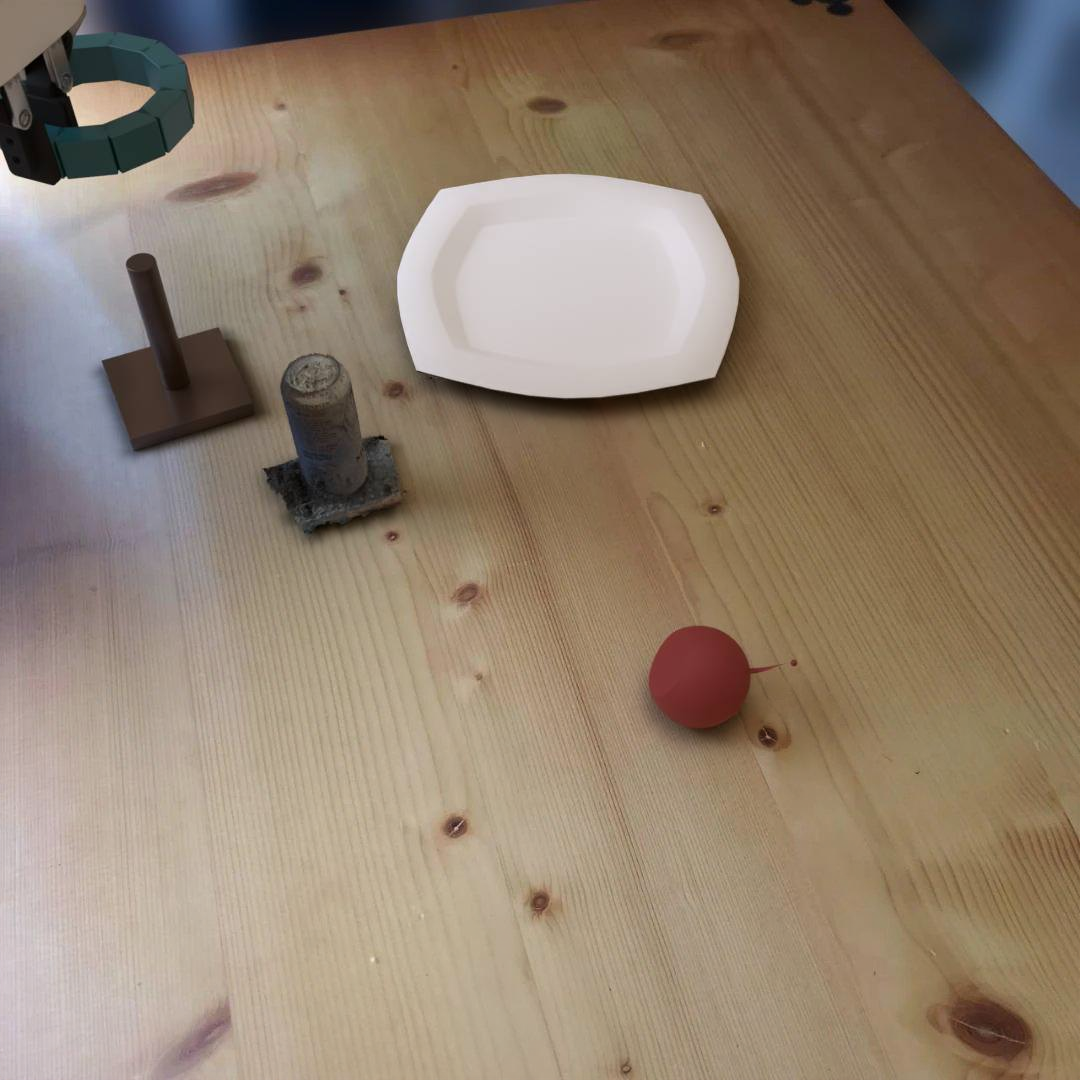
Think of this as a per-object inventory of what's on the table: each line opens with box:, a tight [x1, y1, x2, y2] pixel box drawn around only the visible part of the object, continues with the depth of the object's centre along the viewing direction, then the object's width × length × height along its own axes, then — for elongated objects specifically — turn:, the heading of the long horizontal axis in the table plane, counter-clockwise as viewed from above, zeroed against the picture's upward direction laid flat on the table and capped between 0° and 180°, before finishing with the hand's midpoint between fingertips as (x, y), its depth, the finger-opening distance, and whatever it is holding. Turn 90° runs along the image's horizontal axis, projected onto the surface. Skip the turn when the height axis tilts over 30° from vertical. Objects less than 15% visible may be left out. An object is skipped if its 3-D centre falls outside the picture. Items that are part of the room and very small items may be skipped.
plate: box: [396, 173, 740, 400], centre depth 103 cm, size 27×27×2 cm
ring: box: [0, 31, 195, 180], centre depth 78 cm, size 12×12×2 cm
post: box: [101, 252, 256, 452], centre depth 92 cm, size 9×9×12 cm
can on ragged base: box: [262, 352, 403, 535], centre depth 86 cm, size 9×8×12 cm
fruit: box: [648, 625, 798, 729], centre depth 78 cm, size 6×6×8 cm
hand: (49, 163), depth 76 cm, fingers closed on ring, 1 cm apart
